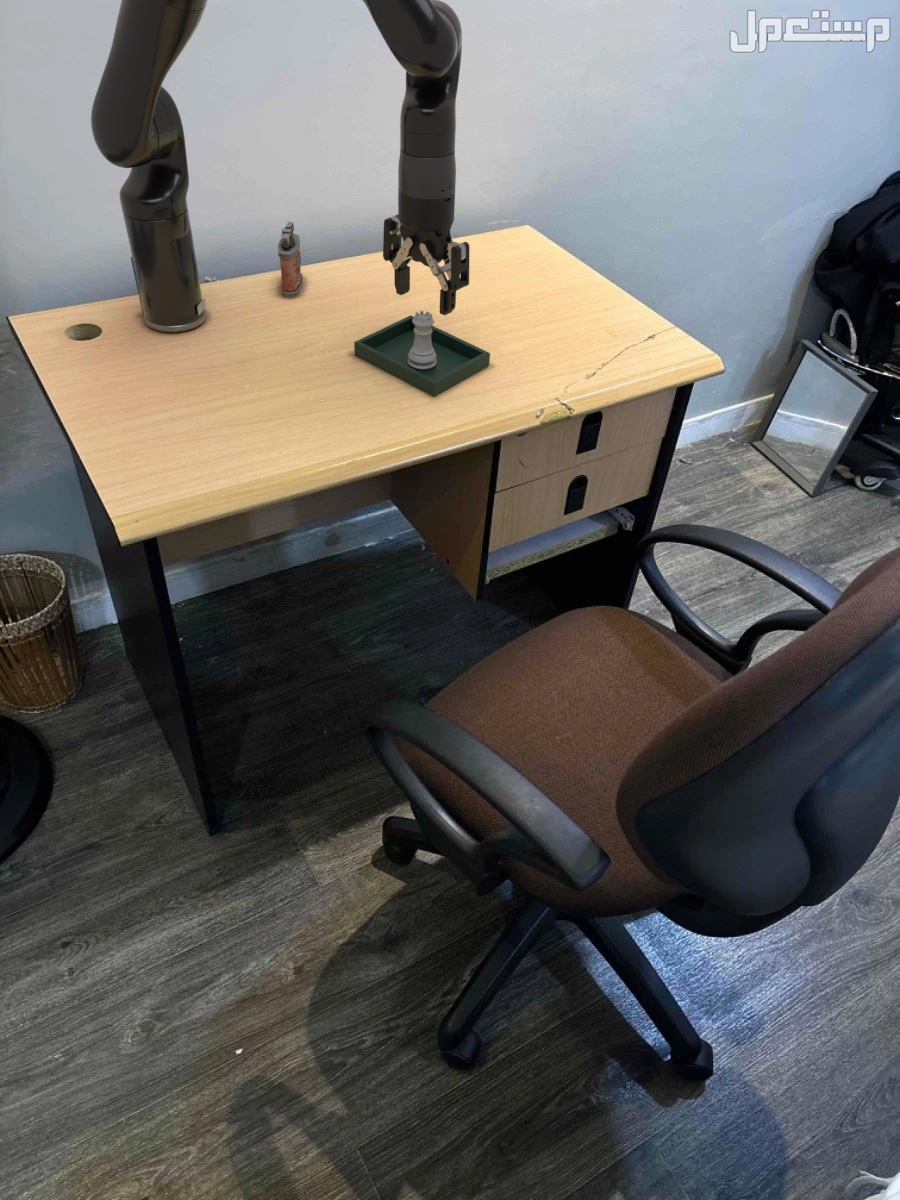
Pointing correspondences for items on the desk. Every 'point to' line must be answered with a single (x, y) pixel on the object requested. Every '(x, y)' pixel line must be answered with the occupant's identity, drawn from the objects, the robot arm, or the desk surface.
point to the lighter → (290, 262)
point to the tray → (450, 369)
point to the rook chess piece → (422, 343)
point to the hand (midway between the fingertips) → (424, 302)
